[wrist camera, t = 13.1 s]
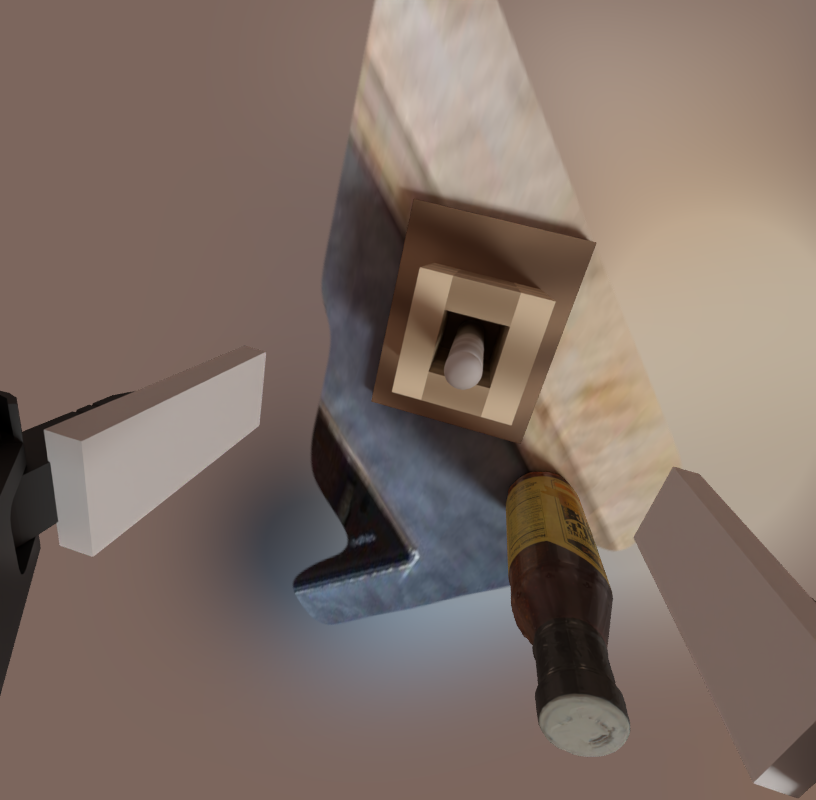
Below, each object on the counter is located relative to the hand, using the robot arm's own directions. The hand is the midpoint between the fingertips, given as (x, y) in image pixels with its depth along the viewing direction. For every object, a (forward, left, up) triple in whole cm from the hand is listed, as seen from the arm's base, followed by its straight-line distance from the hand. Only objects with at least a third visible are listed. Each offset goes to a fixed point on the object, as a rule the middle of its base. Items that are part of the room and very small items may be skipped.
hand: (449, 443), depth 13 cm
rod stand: (0, 0, -22) cm, 22 cm away
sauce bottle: (+13, +10, -22) cm, 27 cm away
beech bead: (0, 0, -20) cm, 20 cm away
